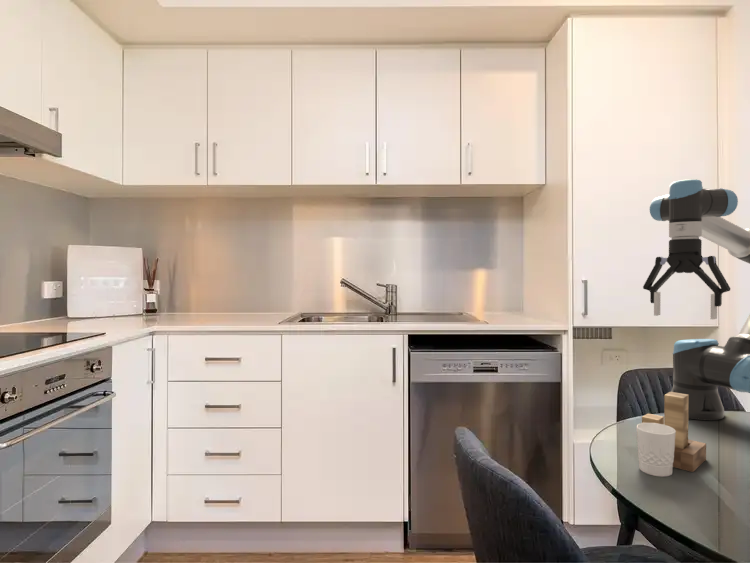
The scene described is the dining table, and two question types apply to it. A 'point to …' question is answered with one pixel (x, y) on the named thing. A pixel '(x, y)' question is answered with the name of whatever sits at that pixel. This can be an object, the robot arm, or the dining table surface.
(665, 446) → the white cup
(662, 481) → the dining table surface
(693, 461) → the walnut hole block
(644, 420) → the short oak peg
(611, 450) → the dining table surface
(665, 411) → the long oak peg
